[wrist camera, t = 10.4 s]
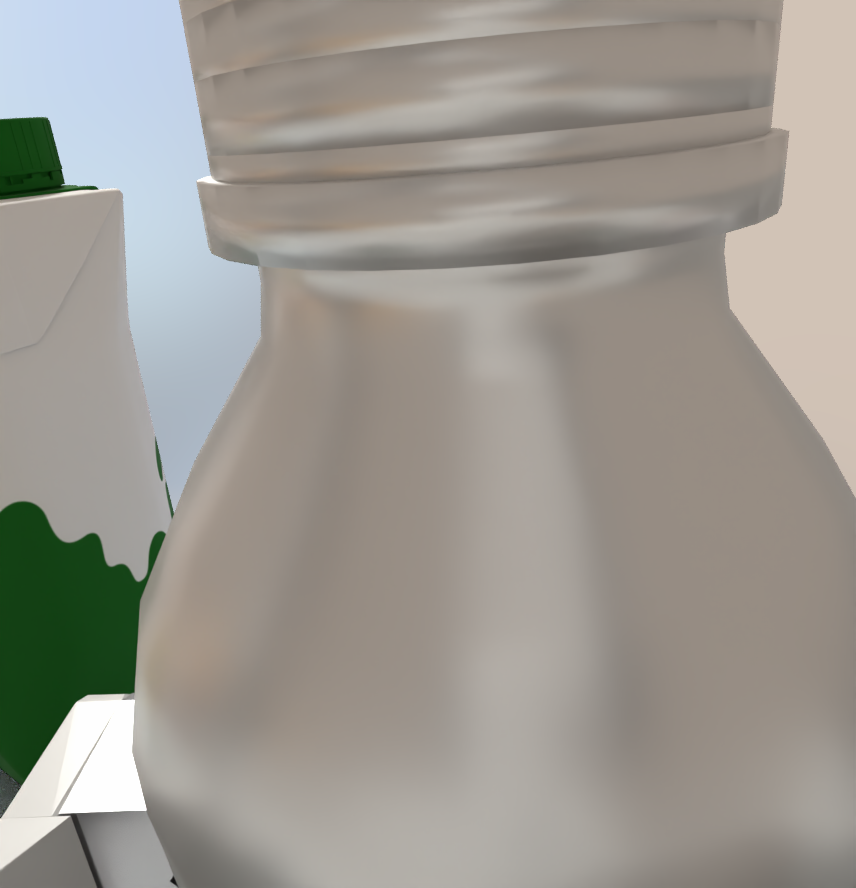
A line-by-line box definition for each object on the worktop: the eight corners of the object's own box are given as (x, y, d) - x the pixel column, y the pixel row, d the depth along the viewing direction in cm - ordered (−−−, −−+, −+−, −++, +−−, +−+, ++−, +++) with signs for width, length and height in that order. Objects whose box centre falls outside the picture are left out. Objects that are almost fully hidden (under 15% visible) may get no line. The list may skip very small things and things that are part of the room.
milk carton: (253, 670, 30) (134, 108, 22) (30, 846, 23) (-260, 130, 15) (120, 604, 35) (-18, 125, 27) (-97, 734, 28) (-366, 148, 20)
